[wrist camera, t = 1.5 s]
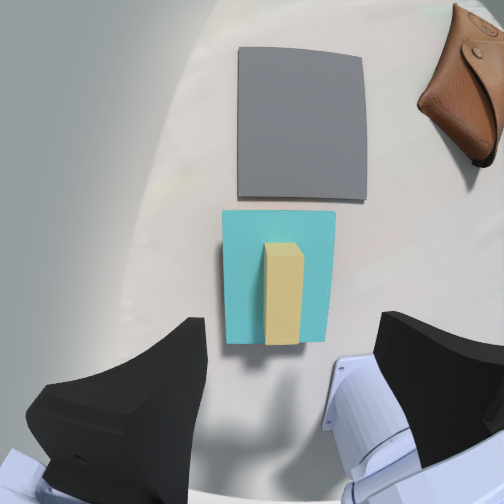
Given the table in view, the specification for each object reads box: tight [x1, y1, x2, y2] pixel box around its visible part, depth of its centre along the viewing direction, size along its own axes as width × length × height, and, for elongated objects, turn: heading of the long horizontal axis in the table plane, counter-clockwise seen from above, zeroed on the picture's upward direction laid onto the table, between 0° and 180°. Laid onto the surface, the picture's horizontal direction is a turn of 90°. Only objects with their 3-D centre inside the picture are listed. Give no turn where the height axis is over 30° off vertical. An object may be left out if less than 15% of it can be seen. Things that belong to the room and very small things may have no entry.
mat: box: [238, 47, 367, 200], centre depth 18 cm, size 11×9×1 cm
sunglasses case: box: [417, 3, 504, 168], centre depth 15 cm, size 18×7×7 cm, turn 153°
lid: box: [222, 210, 336, 345], centre depth 16 cm, size 9×7×4 cm
